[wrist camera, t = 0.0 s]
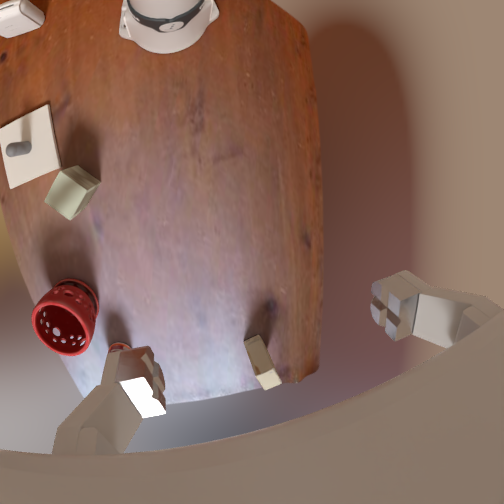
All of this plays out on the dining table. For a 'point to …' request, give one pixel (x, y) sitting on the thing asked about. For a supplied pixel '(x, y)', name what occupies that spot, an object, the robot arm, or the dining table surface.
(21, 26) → the photo printer
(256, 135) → the dining table surface
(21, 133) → the post stand
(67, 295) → the plant pot
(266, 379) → the skincare box
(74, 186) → the sage recessed panel box
